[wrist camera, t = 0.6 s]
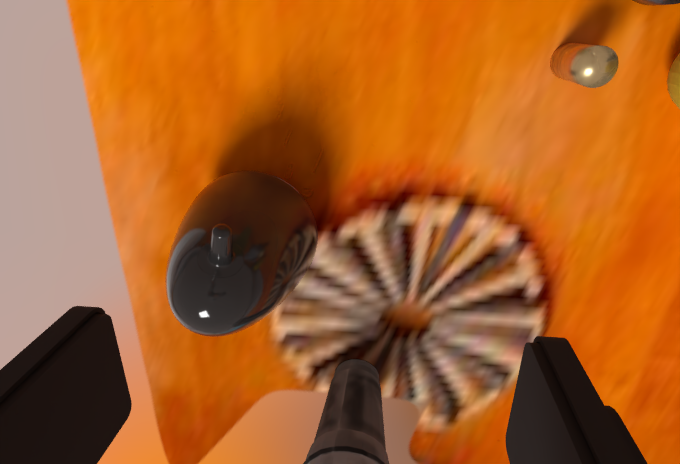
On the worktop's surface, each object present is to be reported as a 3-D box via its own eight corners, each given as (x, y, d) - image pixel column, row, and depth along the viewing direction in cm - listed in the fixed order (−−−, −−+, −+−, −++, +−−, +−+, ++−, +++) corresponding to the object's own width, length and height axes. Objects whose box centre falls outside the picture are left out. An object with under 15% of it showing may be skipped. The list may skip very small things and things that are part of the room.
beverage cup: (404, 363, 45) (413, 593, 27) (376, 413, 48) (367, 650, 30) (335, 337, 44) (295, 554, 26) (311, 389, 47) (261, 616, 29)
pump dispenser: (339, 177, 38) (309, 266, 24) (306, 280, 42) (265, 405, 28) (220, 138, 37) (120, 205, 24) (200, 246, 42) (105, 356, 28)
